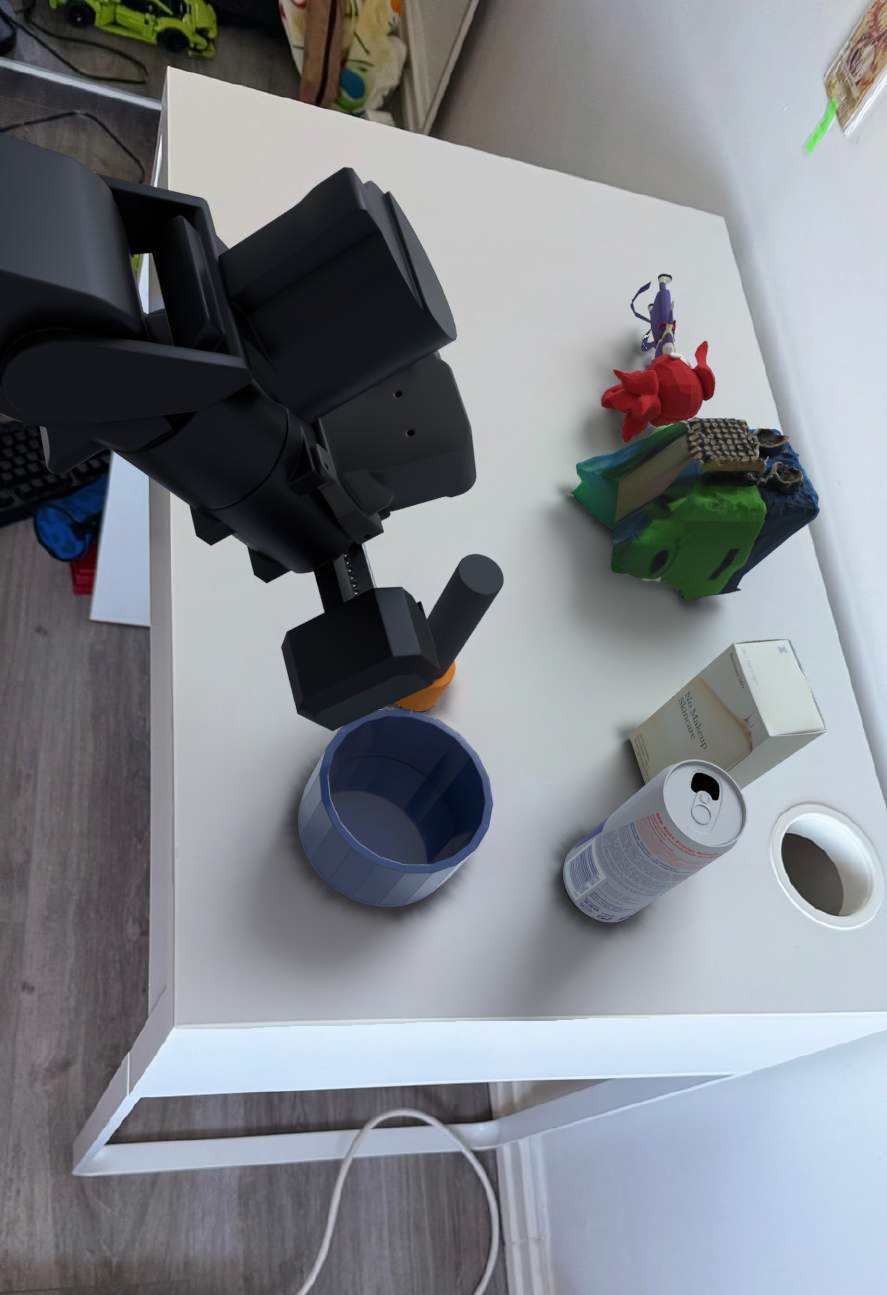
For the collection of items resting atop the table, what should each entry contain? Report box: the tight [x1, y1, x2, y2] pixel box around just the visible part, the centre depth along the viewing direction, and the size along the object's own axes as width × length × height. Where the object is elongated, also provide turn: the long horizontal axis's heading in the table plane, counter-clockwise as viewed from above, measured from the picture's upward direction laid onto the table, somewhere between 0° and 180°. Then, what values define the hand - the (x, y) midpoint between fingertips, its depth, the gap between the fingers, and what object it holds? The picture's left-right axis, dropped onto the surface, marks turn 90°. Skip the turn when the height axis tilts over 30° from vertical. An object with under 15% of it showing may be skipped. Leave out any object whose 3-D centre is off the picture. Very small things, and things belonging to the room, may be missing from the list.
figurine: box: [600, 273, 716, 444], centre depth 84 cm, size 6×8×15 cm
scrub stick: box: [395, 553, 505, 712], centre depth 63 cm, size 4×4×12 cm
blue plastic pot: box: [297, 708, 494, 908], centre depth 61 cm, size 10×10×6 cm
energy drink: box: [562, 759, 748, 923], centre depth 61 cm, size 5×5×12 cm
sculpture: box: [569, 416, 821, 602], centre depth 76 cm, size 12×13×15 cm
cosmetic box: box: [629, 637, 828, 791], centre depth 66 cm, size 6×4×12 cm
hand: (404, 590), depth 57 cm, fingers open, 9 cm apart
